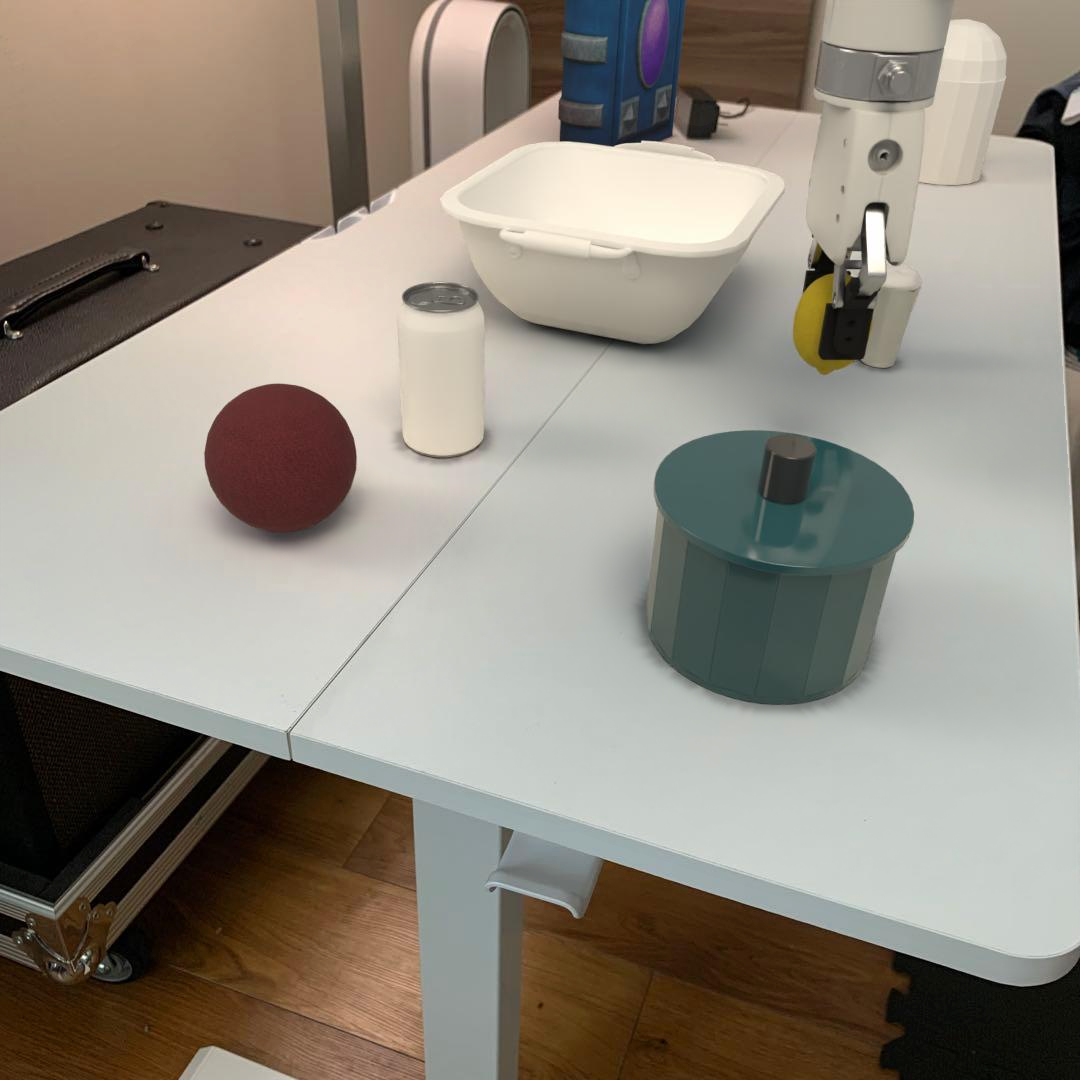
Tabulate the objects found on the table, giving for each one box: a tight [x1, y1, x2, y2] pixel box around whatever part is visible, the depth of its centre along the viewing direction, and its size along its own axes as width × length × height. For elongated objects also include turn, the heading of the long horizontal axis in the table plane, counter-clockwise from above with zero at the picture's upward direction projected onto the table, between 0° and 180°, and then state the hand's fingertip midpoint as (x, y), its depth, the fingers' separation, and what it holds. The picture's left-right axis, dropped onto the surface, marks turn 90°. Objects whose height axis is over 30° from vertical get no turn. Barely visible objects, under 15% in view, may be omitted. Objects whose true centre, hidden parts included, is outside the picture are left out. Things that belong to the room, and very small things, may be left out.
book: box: [557, 0, 686, 147], centre depth 150 cm, size 24×9×30 cm, turn 147°
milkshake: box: [860, 262, 923, 369], centre depth 97 cm, size 4×5×10 cm
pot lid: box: [652, 429, 915, 576], centre depth 60 cm, size 15×15×4 cm
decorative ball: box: [203, 383, 358, 533], centre depth 72 cm, size 10×10×10 cm
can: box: [396, 281, 485, 459], centre depth 82 cm, size 6×6×12 cm
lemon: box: [792, 272, 873, 376], centre depth 77 cm, size 6×6×8 cm
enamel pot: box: [646, 508, 897, 705], centre depth 64 cm, size 14×14×10 cm
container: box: [919, 18, 1008, 186], centre depth 148 cm, size 13×13×20 cm
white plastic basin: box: [438, 141, 786, 345], centre depth 104 cm, size 34×28×13 cm
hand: (830, 337), depth 78 cm, fingers closed on lemon, 5 cm apart
